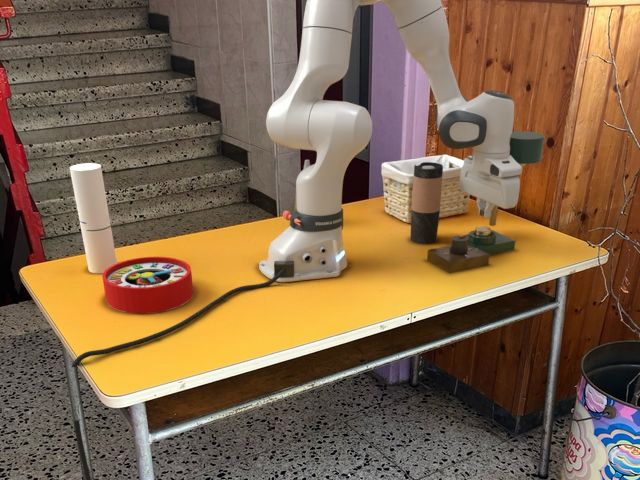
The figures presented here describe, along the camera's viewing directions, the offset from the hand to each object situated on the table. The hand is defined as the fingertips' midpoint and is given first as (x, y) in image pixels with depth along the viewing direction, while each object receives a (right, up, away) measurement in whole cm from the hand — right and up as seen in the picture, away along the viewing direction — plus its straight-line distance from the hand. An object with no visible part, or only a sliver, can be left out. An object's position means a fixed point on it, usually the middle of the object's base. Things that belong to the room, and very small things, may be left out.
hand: (484, 216), depth 191 cm
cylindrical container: (-98, -15, -5) cm, 99 cm away
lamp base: (+1, -7, +6) cm, 9 cm away
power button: (0, -4, +2) cm, 5 cm away
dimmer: (-8, -13, -3) cm, 15 cm away
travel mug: (-14, -3, +12) cm, 19 cm away
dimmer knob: (-8, -10, -5) cm, 14 cm away
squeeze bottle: (-46, +5, +25) cm, 53 cm away
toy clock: (-82, -24, -20) cm, 88 cm away
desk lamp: (+9, +1, +10) cm, 14 cm away
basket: (-11, +10, +33) cm, 36 cm away
